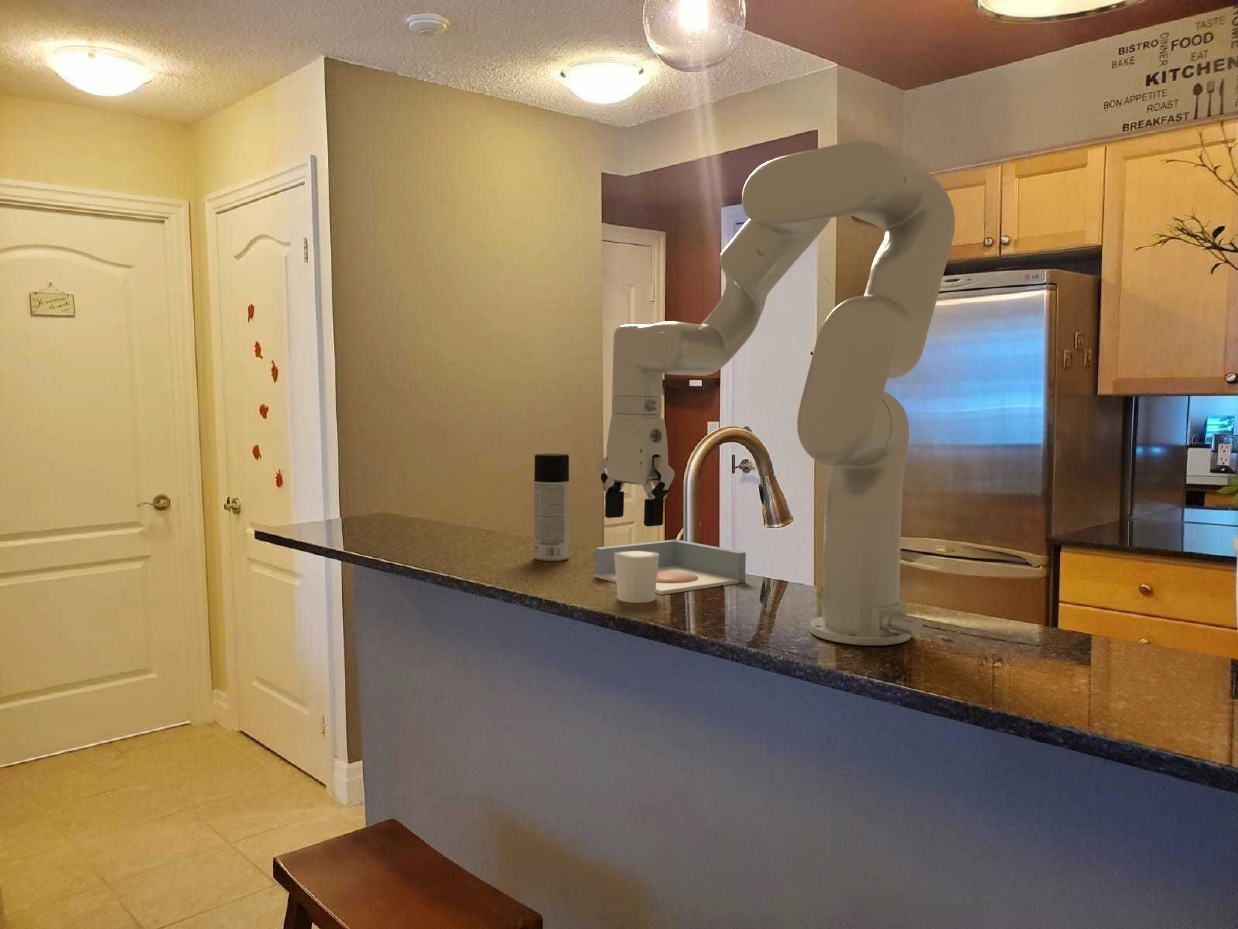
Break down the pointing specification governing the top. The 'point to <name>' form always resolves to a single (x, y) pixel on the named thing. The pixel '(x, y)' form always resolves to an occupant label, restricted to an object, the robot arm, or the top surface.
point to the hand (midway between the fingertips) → (633, 521)
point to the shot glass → (636, 575)
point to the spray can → (551, 507)
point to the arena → (680, 565)
